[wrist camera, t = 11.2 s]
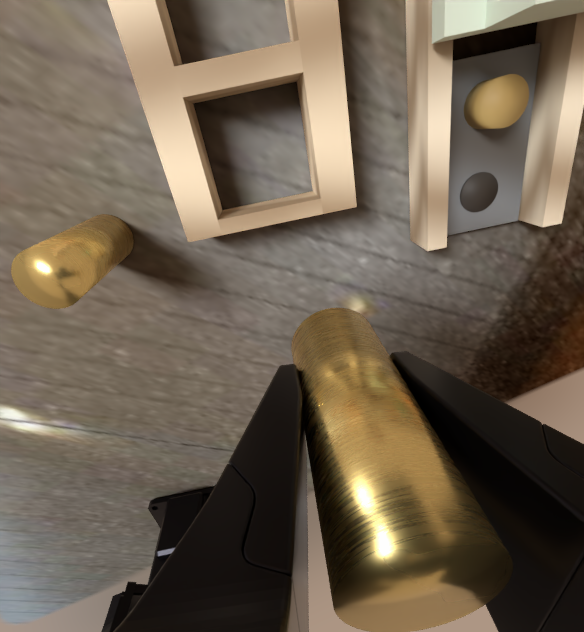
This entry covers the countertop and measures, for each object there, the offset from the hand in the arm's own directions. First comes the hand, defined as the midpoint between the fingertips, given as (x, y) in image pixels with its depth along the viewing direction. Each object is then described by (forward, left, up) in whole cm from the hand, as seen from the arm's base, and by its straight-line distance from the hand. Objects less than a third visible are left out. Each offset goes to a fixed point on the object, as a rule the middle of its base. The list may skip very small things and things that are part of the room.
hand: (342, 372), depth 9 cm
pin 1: (+2, +10, -12) cm, 15 cm away
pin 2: (0, 0, -1) cm, 1 cm away
